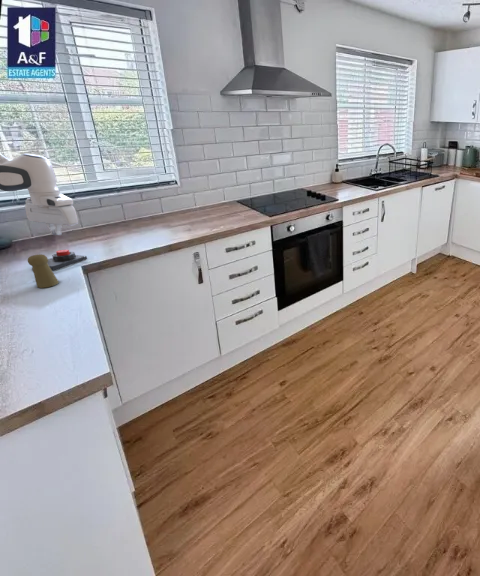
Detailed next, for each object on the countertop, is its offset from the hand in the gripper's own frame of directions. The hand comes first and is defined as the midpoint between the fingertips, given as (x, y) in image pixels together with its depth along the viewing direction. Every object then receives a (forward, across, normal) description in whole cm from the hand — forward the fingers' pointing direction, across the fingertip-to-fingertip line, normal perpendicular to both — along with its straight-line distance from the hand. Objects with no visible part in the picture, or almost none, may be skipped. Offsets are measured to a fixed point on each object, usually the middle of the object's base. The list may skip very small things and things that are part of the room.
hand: (56, 234), depth 146 cm
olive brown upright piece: (+13, +14, -18) cm, 26 cm away
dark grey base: (+13, 0, -2) cm, 13 cm away
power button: (+9, 0, 0) cm, 9 cm away
